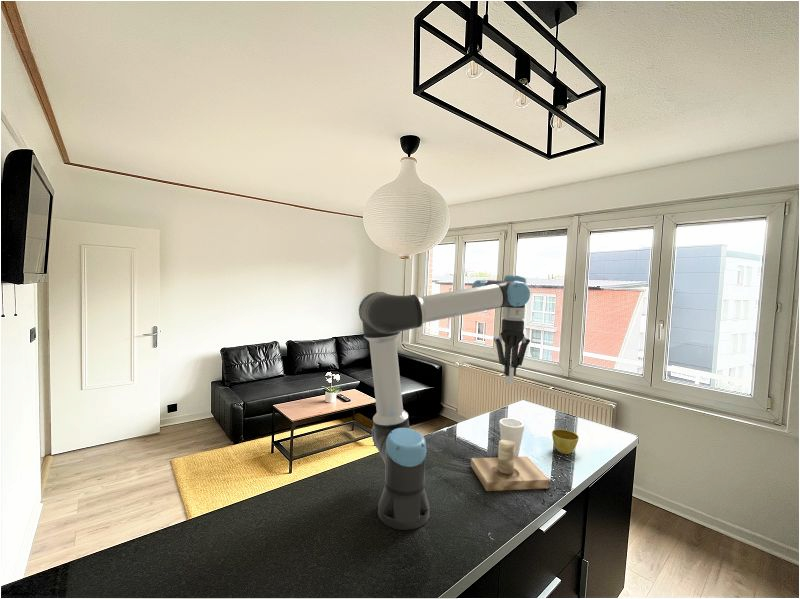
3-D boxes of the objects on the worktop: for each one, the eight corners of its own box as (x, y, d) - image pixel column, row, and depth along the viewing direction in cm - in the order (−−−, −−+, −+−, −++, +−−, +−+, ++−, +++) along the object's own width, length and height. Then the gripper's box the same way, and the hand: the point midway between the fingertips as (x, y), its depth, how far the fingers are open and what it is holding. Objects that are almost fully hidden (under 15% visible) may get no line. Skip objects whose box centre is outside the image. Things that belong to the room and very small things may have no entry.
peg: (500, 483, 126) (502, 446, 125) (494, 475, 131) (496, 439, 131) (515, 483, 127) (518, 446, 126) (508, 474, 132) (511, 439, 131)
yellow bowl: (580, 458, 147) (582, 441, 146) (554, 455, 148) (555, 438, 148) (573, 447, 157) (574, 430, 156) (548, 444, 158) (549, 428, 158)
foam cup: (523, 461, 143) (525, 428, 142) (498, 458, 144) (500, 425, 144) (520, 450, 152) (522, 419, 151) (497, 447, 154) (499, 416, 153)
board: (486, 491, 122) (486, 482, 122) (470, 466, 138) (471, 458, 137) (548, 488, 125) (549, 479, 125) (526, 464, 141) (526, 456, 140)
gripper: (499, 320, 126) (496, 387, 128) (535, 320, 128) (531, 387, 129) (491, 317, 133) (488, 381, 135) (525, 318, 135) (521, 381, 137)
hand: (509, 384), depth 132 cm, fingers closed
